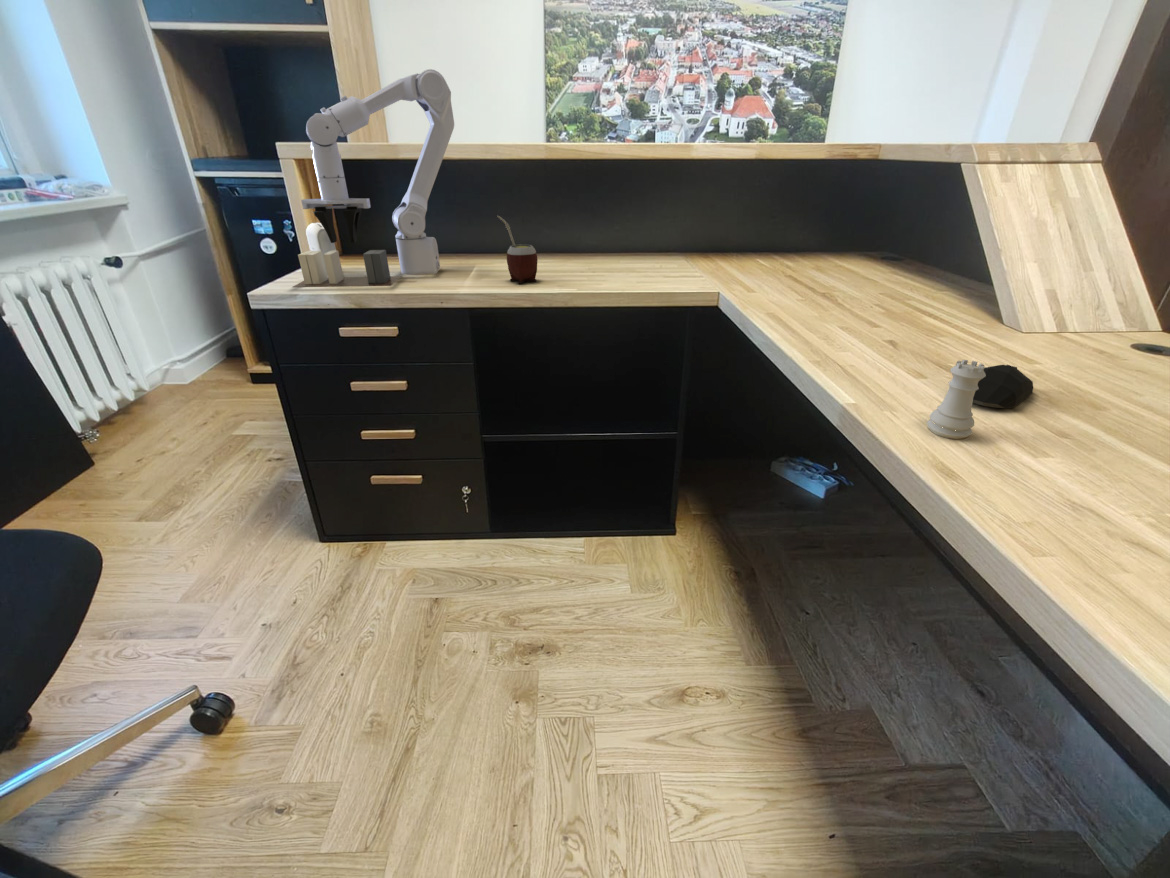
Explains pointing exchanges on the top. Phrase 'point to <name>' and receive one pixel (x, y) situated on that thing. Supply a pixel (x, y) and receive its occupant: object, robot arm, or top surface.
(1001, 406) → the gaming mouse
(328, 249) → the photo printer
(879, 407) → the top surface
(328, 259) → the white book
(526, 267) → the mate gourd
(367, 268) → the grey books
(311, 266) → the beige books
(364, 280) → the shelf board
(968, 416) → the rook chess piece
